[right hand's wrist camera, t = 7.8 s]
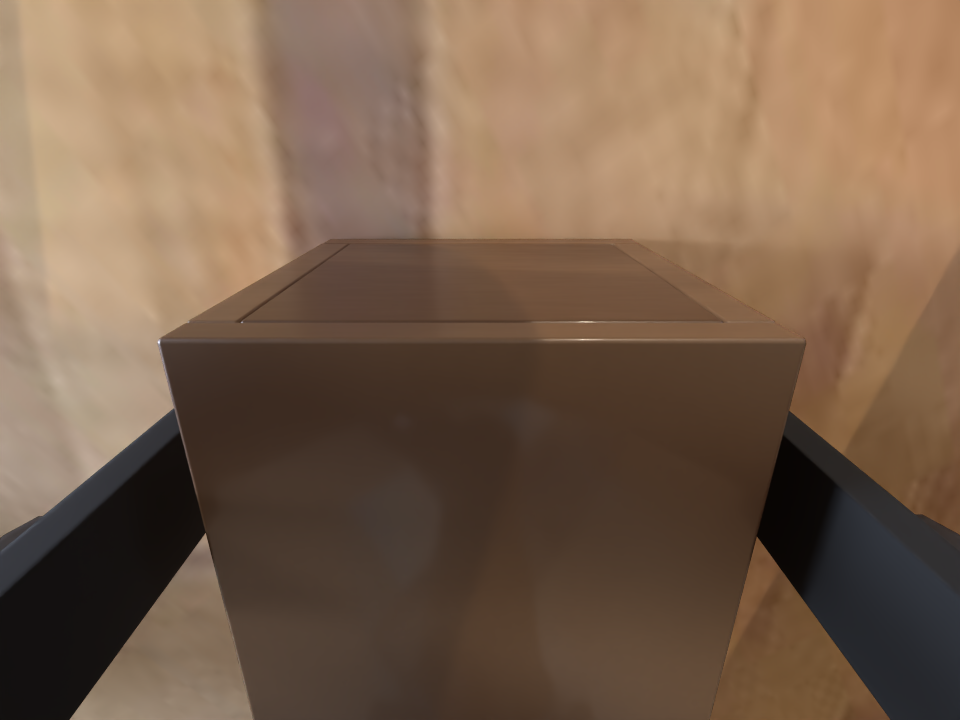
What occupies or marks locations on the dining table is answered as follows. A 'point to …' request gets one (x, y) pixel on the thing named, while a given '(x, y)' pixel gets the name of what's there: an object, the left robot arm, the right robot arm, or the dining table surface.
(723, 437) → the cabinet
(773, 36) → the dining table surface
